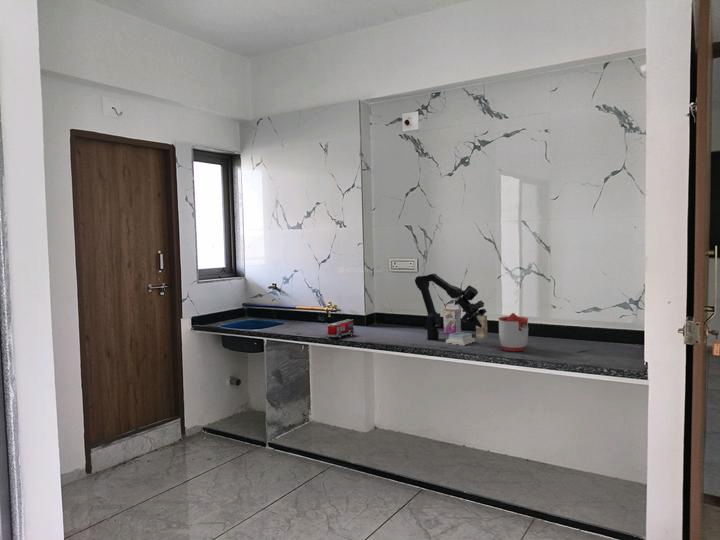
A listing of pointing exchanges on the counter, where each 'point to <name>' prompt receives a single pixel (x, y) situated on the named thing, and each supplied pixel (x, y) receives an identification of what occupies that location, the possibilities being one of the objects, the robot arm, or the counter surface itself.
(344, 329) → the toy fire truck
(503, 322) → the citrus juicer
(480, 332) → the birch block
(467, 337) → the tower base
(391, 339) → the counter surface
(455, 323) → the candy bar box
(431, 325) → the robot arm
